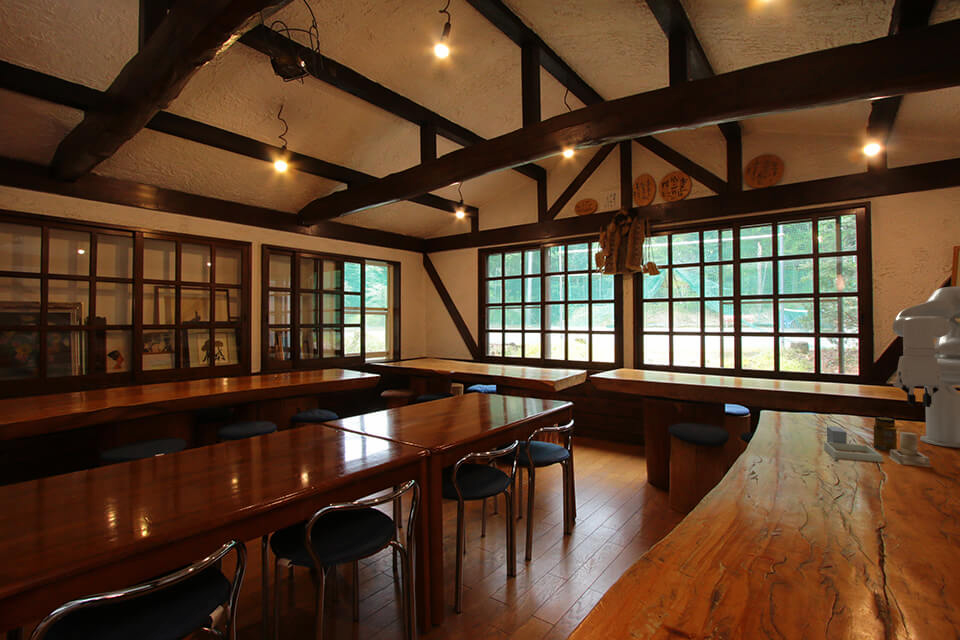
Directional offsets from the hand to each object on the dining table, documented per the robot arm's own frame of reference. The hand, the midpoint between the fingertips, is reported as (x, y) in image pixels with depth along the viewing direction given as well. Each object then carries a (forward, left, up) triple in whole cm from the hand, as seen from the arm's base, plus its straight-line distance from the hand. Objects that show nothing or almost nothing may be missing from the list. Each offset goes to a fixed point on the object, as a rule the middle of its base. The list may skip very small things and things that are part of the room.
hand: (919, 405), depth 150 cm
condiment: (+10, 0, -18) cm, 20 cm away
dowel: (+8, +13, -16) cm, 22 cm away
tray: (+22, +11, -17) cm, 29 cm away
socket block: (+8, +13, -17) cm, 23 cm away
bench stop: (+23, 0, -17) cm, 29 cm away
